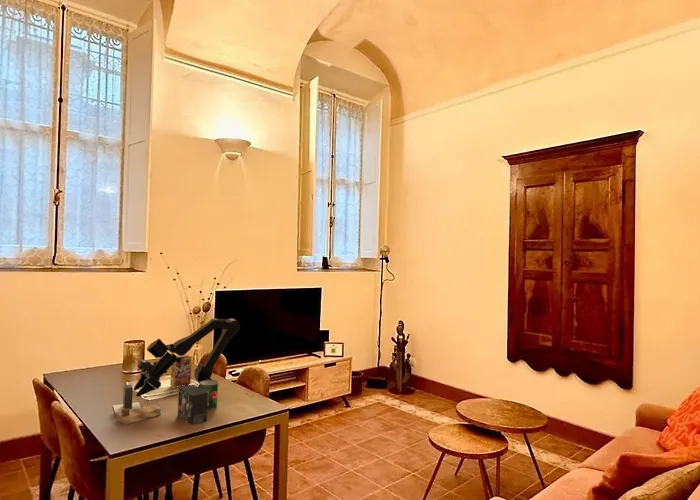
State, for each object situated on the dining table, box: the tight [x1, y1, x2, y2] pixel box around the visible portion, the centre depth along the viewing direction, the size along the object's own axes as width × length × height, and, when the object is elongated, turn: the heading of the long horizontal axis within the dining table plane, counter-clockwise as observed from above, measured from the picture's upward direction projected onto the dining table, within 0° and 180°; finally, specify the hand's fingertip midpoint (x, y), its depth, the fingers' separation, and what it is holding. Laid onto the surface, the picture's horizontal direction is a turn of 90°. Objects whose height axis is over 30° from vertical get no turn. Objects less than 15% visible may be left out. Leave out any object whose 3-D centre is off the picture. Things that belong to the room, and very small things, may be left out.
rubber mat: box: [112, 401, 142, 415], centre depth 196 cm, size 10×10×1 cm
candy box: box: [169, 353, 193, 388], centre depth 229 cm, size 9×4×15 cm, turn 134°
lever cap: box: [122, 384, 134, 409], centre depth 196 cm, size 3×5×9 cm, turn 32°
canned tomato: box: [198, 379, 219, 411], centre depth 202 cm, size 8×8×11 cm
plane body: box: [116, 404, 162, 425], centre depth 187 cm, size 15×6×5 cm, turn 145°
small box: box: [177, 384, 208, 426], centre depth 188 cm, size 13×7×12 cm, turn 45°
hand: (135, 393), depth 197 cm, fingers open, 9 cm apart
